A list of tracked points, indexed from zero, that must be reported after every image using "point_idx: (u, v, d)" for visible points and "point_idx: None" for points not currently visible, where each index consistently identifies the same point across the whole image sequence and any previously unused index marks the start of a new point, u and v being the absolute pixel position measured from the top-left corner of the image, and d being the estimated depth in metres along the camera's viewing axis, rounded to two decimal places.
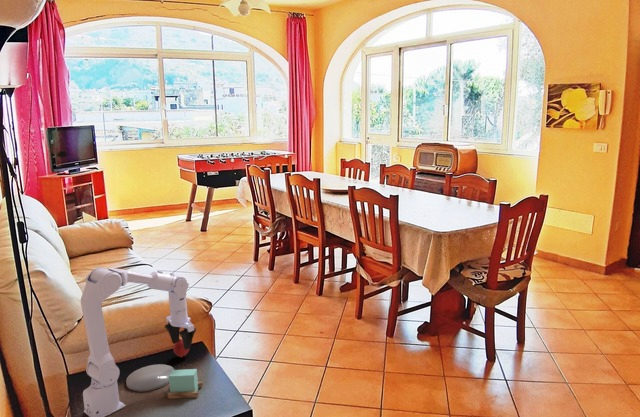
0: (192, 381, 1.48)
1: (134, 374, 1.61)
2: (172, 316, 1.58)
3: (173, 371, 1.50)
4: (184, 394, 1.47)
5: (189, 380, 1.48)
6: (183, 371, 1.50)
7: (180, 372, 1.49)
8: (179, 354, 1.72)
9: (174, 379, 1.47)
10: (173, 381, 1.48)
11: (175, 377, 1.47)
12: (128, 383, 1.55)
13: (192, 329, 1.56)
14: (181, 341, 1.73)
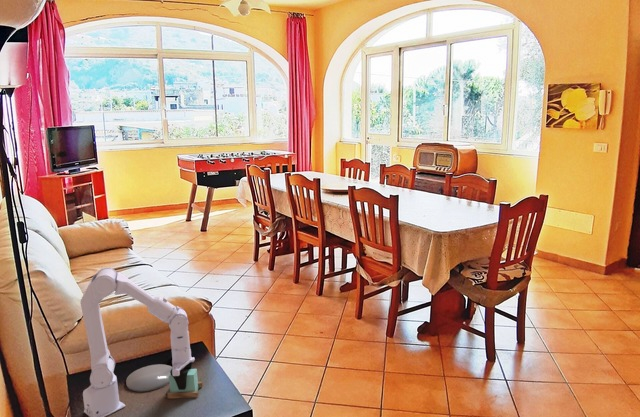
0: (192, 381, 1.48)
1: (134, 374, 1.61)
2: None
3: None
4: (184, 394, 1.47)
5: (189, 380, 1.48)
6: None
7: None
8: None
9: (174, 379, 1.47)
10: (173, 381, 1.48)
11: None
12: (128, 383, 1.55)
13: (176, 374, 1.42)
14: None
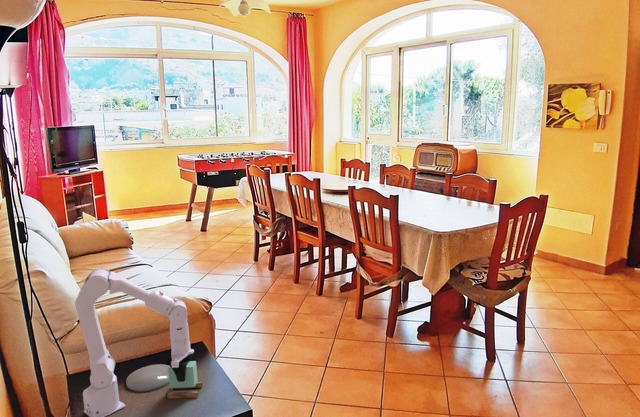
0: (192, 373, 1.47)
1: (134, 374, 1.61)
2: None
3: None
4: (184, 394, 1.47)
5: (188, 372, 1.47)
6: None
7: None
8: None
9: (173, 371, 1.47)
10: (173, 373, 1.47)
11: None
12: (128, 383, 1.55)
13: (175, 366, 1.41)
14: None
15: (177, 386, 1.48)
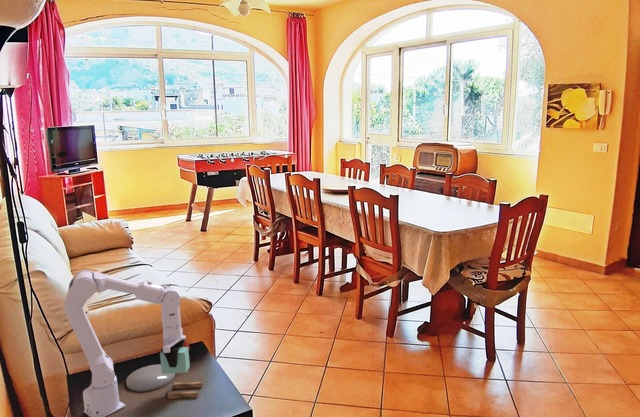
0: (183, 359, 1.48)
1: (134, 374, 1.61)
2: None
3: None
4: (184, 394, 1.47)
5: (180, 357, 1.48)
6: None
7: None
8: None
9: None
10: (165, 359, 1.48)
11: None
12: (128, 383, 1.55)
13: (167, 351, 1.42)
14: None
15: (169, 372, 1.49)
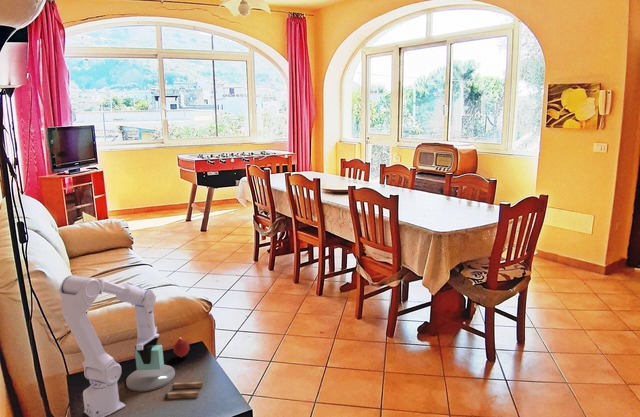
0: (157, 356, 1.56)
1: (134, 374, 1.61)
2: None
3: None
4: (184, 394, 1.47)
5: (154, 355, 1.56)
6: None
7: None
8: (179, 354, 1.72)
9: None
10: (139, 356, 1.56)
11: None
12: (128, 383, 1.55)
13: (140, 348, 1.50)
14: (181, 341, 1.73)
15: (143, 368, 1.57)
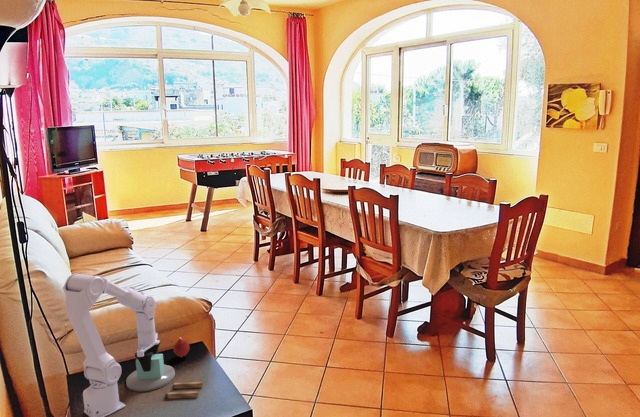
0: (158, 365, 1.57)
1: (134, 374, 1.61)
2: None
3: None
4: (184, 394, 1.47)
5: (154, 364, 1.57)
6: None
7: None
8: (179, 354, 1.72)
9: None
10: (140, 365, 1.57)
11: None
12: (128, 383, 1.55)
13: (140, 355, 1.50)
14: (181, 341, 1.73)
15: (144, 377, 1.57)
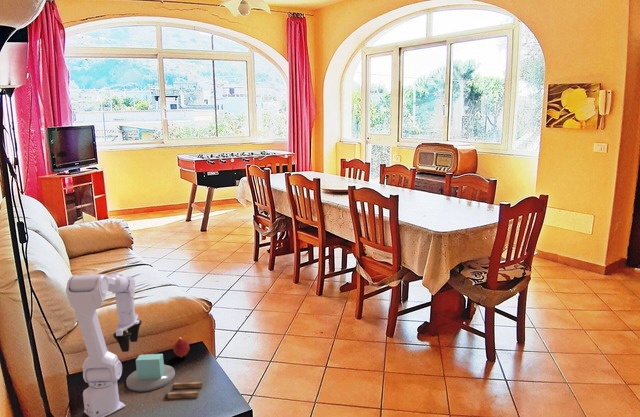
0: (158, 365, 1.57)
1: (134, 374, 1.61)
2: None
3: (140, 356, 1.59)
4: (184, 394, 1.47)
5: (154, 364, 1.57)
6: (149, 356, 1.59)
7: (146, 357, 1.58)
8: (179, 354, 1.72)
9: (141, 363, 1.56)
10: (140, 365, 1.57)
11: (141, 361, 1.56)
12: (128, 383, 1.55)
13: (119, 334, 1.54)
14: (181, 341, 1.73)
15: (144, 377, 1.57)
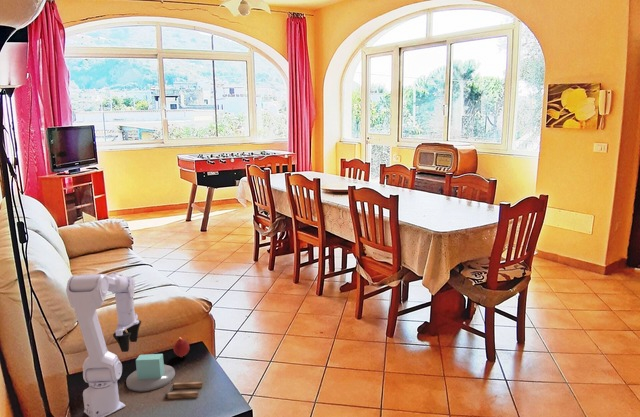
0: (158, 365, 1.57)
1: (134, 374, 1.61)
2: None
3: (140, 356, 1.59)
4: (184, 394, 1.47)
5: (154, 364, 1.57)
6: (149, 356, 1.59)
7: (146, 357, 1.58)
8: (179, 354, 1.72)
9: (141, 363, 1.56)
10: (140, 365, 1.57)
11: (141, 361, 1.56)
12: (128, 383, 1.55)
13: (119, 334, 1.54)
14: (181, 341, 1.73)
15: (144, 377, 1.57)
